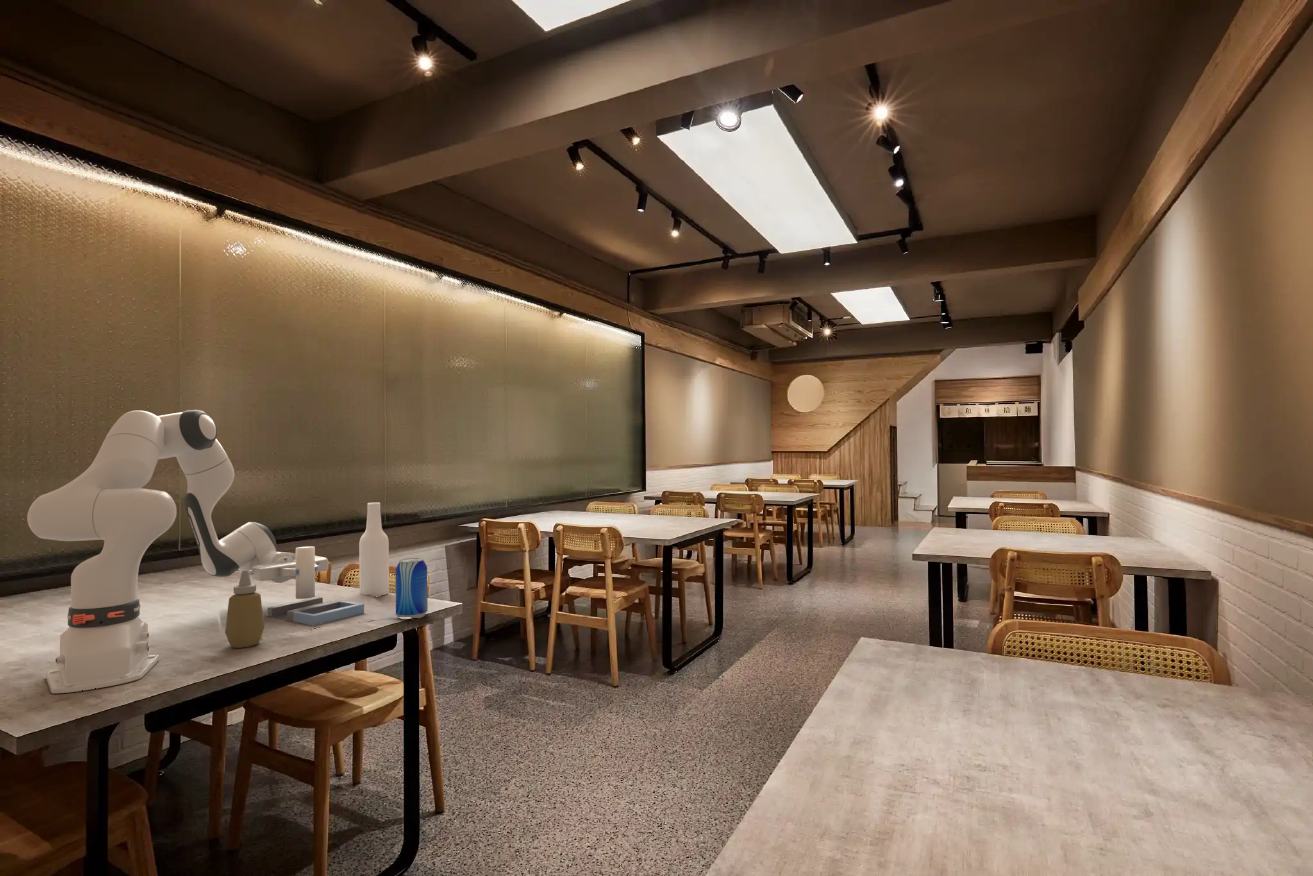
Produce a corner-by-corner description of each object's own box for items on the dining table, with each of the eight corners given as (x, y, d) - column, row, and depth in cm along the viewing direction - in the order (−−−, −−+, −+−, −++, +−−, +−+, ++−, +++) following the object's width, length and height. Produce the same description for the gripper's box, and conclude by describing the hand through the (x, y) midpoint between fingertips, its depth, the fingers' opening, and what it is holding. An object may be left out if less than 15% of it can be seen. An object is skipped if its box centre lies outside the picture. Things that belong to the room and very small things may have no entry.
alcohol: (374, 598, 208) (373, 504, 209) (353, 597, 212) (352, 503, 212) (394, 593, 217) (394, 501, 217) (374, 591, 220) (373, 501, 220)
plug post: (316, 597, 186) (316, 547, 187) (296, 599, 183) (296, 549, 184) (313, 594, 190) (313, 545, 191) (294, 596, 187) (294, 547, 188)
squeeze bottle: (271, 643, 161) (270, 569, 161) (235, 652, 154) (235, 574, 154) (254, 638, 165) (253, 566, 165) (218, 646, 158) (218, 571, 159)
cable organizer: (365, 616, 186) (365, 604, 186) (314, 629, 173) (314, 616, 173) (317, 608, 197) (317, 596, 197) (266, 619, 184) (266, 607, 184)
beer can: (421, 620, 181) (420, 562, 181) (390, 620, 181) (390, 562, 181) (431, 612, 189) (431, 557, 190) (402, 613, 189) (402, 557, 190)
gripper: (242, 561, 185) (270, 564, 178) (311, 552, 202) (339, 554, 195) (241, 584, 184) (270, 588, 177) (311, 572, 202) (339, 576, 195)
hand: (307, 570), depth 187 cm, fingers closed on plug post, 5 cm apart
